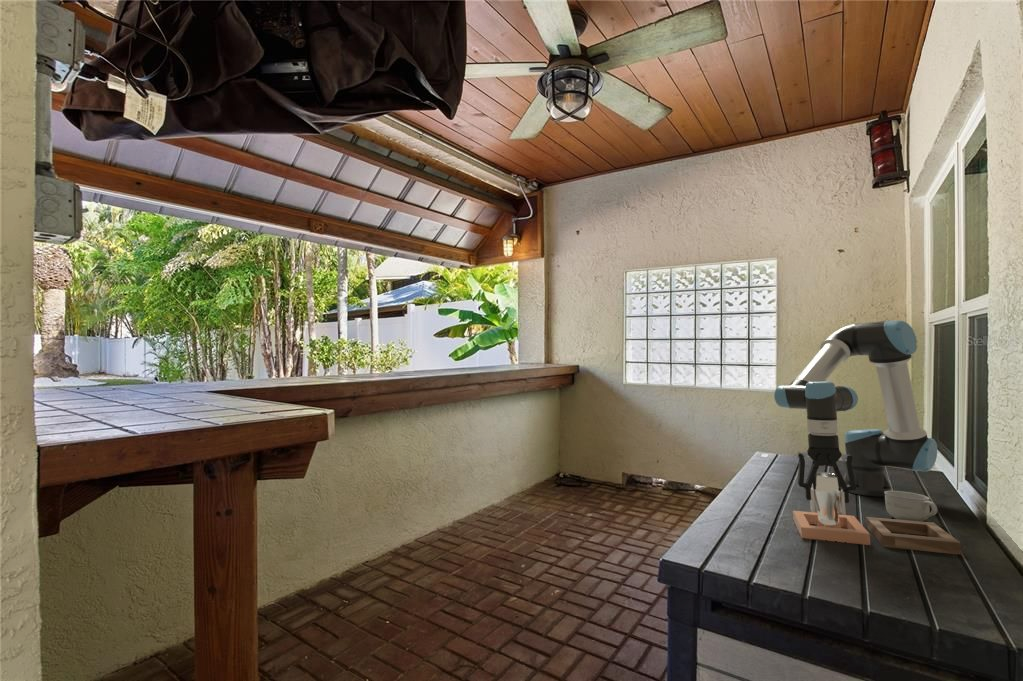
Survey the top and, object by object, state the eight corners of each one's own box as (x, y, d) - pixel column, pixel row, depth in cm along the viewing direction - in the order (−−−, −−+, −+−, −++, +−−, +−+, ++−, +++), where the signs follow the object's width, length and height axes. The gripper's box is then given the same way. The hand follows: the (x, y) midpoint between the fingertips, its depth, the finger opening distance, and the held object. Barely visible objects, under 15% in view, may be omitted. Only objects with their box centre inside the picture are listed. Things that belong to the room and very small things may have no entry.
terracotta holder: (793, 520, 147) (792, 510, 148) (854, 525, 141) (853, 515, 141) (801, 537, 133) (801, 527, 133) (870, 545, 126) (869, 533, 126)
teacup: (877, 514, 150) (875, 489, 151) (911, 514, 150) (910, 488, 150) (913, 530, 136) (911, 502, 137) (951, 529, 136) (949, 501, 137)
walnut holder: (866, 527, 140) (865, 516, 140) (934, 533, 133) (933, 522, 133) (884, 546, 125) (883, 535, 125) (961, 554, 119) (960, 542, 119)
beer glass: (847, 531, 133) (844, 477, 134) (820, 529, 134) (817, 477, 135) (836, 522, 140) (833, 472, 140) (810, 521, 141) (807, 471, 142)
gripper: (786, 434, 139) (790, 512, 138) (867, 436, 131) (872, 520, 130) (783, 430, 146) (787, 505, 145) (859, 432, 138) (864, 512, 137)
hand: (827, 512), depth 137 cm, fingers closed on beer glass, 7 cm apart
